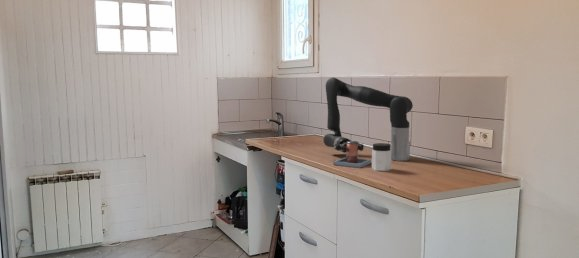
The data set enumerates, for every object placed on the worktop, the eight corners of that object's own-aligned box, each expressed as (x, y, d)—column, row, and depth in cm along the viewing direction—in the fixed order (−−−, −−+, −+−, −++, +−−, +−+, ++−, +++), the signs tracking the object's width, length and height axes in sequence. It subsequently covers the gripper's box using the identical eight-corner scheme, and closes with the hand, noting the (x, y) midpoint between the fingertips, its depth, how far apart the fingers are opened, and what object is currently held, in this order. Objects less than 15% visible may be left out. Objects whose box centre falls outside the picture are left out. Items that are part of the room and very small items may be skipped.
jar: (370, 170, 206) (371, 145, 204) (372, 167, 214) (373, 142, 212) (390, 171, 203) (390, 145, 202) (391, 168, 211) (392, 143, 210)
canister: (359, 163, 223) (360, 141, 221) (355, 165, 218) (355, 143, 216) (349, 162, 226) (349, 140, 224) (344, 163, 221) (344, 142, 219)
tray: (370, 163, 224) (370, 159, 224) (359, 167, 212) (359, 164, 212) (345, 160, 231) (345, 157, 231) (333, 165, 219) (333, 161, 219)
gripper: (330, 137, 233) (340, 142, 217) (355, 136, 236) (367, 141, 220) (330, 151, 233) (340, 157, 218) (355, 150, 237) (367, 155, 221)
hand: (353, 149), depth 219 cm, fingers open, 8 cm apart
